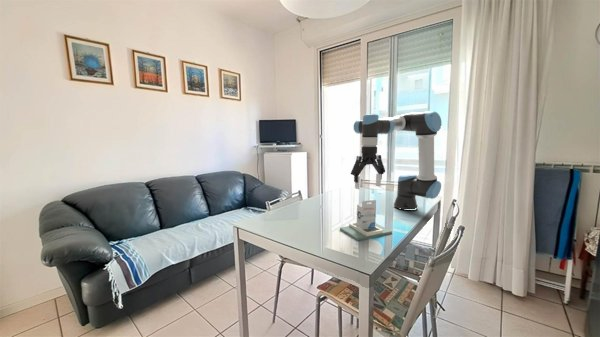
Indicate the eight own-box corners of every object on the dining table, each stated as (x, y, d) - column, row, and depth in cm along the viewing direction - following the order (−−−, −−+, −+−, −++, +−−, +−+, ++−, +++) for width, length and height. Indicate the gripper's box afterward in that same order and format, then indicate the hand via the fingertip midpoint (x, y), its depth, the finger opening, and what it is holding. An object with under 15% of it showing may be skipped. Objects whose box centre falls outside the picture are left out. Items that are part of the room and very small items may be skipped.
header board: (372, 223, 141) (372, 219, 140) (391, 233, 127) (392, 228, 127) (339, 229, 132) (340, 224, 131) (357, 240, 118) (357, 235, 118)
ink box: (370, 224, 133) (371, 197, 131) (375, 227, 128) (376, 199, 126) (356, 225, 130) (357, 198, 128) (360, 229, 126) (362, 201, 124)
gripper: (383, 144, 132) (381, 183, 135) (344, 146, 121) (343, 188, 125) (393, 145, 125) (391, 186, 128) (353, 147, 115) (352, 191, 118)
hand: (367, 187), depth 126 cm, fingers open, 13 cm apart
